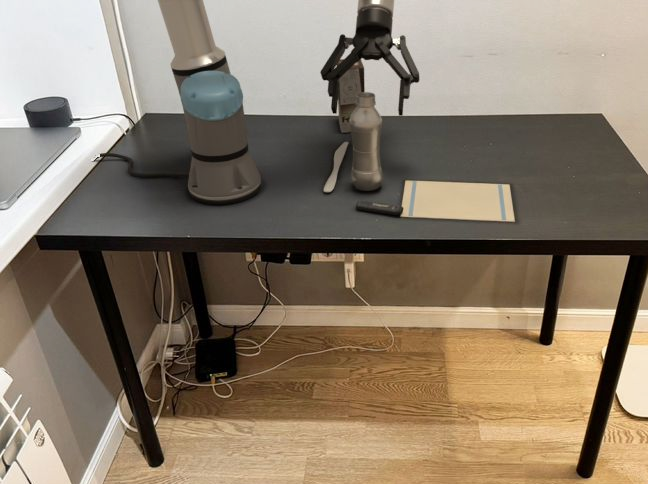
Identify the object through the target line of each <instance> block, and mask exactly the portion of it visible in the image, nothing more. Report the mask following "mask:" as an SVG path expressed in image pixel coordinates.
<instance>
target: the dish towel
mask: <svg viewBox="0 0 648 484" xmlns="http://www.w3.org/2000/svg"><path fill="white" fill-rule="evenodd" d="M511 192H512V191H511V185H510V184H509V183H508V184H507V183H506V184H505V183H481V182H480V183H478V182H456V181H455V182H453V181H430V180H429V181H428V180H405V182H404V188H403V195H402V202H401V206H402V207H403V212H402V214H401V215H399V217H400V218H412V219H413V218H415V219H437V220H456V221H457V220H458V221H460V220H461V221H479V222H482V221H483V222H502V223H503V222H504V223H515V222H516V221H515V213H514V206H513V199H512V193H511Z"/></svg>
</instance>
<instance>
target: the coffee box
mask: <svg viewBox="0 0 648 484" xmlns="http://www.w3.org/2000/svg"><path fill="white" fill-rule="evenodd" d="M344 59H345V58H341V59H340V60H339V62H338V63H337V65H336V67H337V66H338V65H339V64H340V63H341V62H342V61H343V60H344ZM338 82H339V93H338V104H337V112H338V124H339V129H340V133H341V134H345V133H351V129H350V123H349V121H350V117H351V115H352V113H353V112H354V110H355V109H356V108H357V105H356V95H357V94H358V93H362V92H366V91H365V89H366V87H365V66H364V64H363V62H362V59H361V60H360V61H359V62H356V63H355V64H354V65H353V66H352V67H351V68H350V69H349V70H348V71H347V72H346V73H345V74H344V75H343V76H342V77H341V78H340V79H339V80H338Z"/></svg>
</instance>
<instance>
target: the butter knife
mask: <svg viewBox="0 0 648 484" xmlns="http://www.w3.org/2000/svg"><path fill="white" fill-rule="evenodd" d="M348 145H349V141H344V142H343V143H342V144H341V145H340V146H338V148H337V149H336V150H335V152H334V156H333V169H332V171H331V174H330V176H329V177H328V179H327V181H326V182H325V184H324V186H323V192H324V193H326V194H327V193H328V194H329V193H331V192H332V191H333V190H334V189H335V186H336V183H337V178H338V172H339V169H340V166H341V164H342V162H343V160H344V156H345V155H346V152H347V148H348Z"/></svg>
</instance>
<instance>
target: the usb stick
mask: <svg viewBox="0 0 648 484" xmlns="http://www.w3.org/2000/svg"><path fill="white" fill-rule="evenodd" d="M355 208H356V209H357V210H359V211H367V212H372V213H379V214H387V215H395V216H400V215H401V214H402V212H403V207H402V205H399V204H393V203H392V204H391V203H385V202H377V201H372V200H371V201H370V200H364V199H359V200H358V201H357V202H356V204H355Z"/></svg>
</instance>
